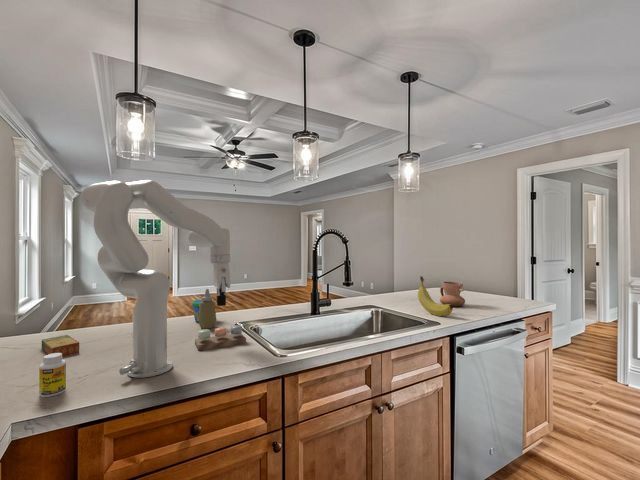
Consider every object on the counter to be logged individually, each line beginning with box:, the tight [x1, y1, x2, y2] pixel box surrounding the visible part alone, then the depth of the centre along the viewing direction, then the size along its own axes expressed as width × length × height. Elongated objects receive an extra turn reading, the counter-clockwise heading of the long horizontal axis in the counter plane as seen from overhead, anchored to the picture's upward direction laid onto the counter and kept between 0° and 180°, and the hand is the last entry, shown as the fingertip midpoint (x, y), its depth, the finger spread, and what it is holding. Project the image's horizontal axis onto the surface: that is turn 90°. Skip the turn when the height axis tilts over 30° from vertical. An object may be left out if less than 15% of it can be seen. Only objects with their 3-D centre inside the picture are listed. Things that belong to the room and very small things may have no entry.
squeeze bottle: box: [198, 288, 217, 330], centre depth 153 cm, size 8×8×18 cm
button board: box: [194, 333, 247, 352], centre depth 129 cm, size 18×9×2 cm, turn 118°
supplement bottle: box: [38, 353, 67, 398], centre depth 88 cm, size 6×6×10 cm
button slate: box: [230, 324, 243, 334], centre depth 132 cm, size 4×4×2 cm
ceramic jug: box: [439, 281, 466, 308], centre depth 202 cm, size 18×14×14 cm
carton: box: [41, 334, 80, 357], centre depth 122 cm, size 8×16×4 cm, turn 50°
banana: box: [417, 275, 454, 317], centre depth 177 cm, size 23×6×20 cm, turn 29°
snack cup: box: [191, 298, 215, 323], centre depth 166 cm, size 16×10×10 cm
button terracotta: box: [214, 326, 227, 337], centre depth 129 cm, size 4×4×2 cm
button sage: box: [197, 329, 211, 339], centre depth 126 cm, size 4×4×2 cm
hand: (221, 305), depth 130 cm, fingers closed
